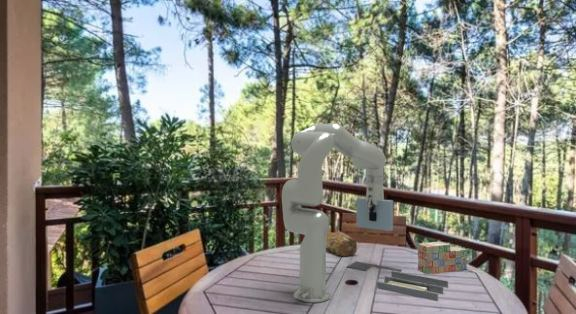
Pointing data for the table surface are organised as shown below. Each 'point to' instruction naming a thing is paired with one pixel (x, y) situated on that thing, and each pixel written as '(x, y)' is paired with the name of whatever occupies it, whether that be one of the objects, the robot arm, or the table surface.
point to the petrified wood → (341, 244)
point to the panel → (382, 215)
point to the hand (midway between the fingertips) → (374, 220)
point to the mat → (369, 266)
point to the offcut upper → (408, 286)
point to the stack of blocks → (440, 258)
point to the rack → (417, 279)
